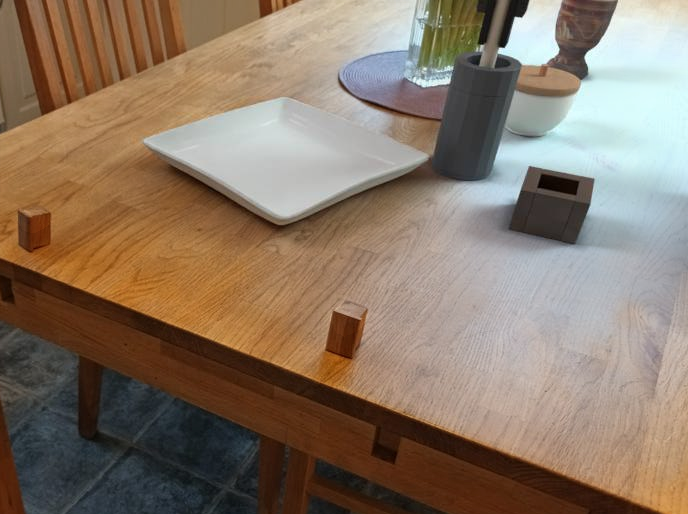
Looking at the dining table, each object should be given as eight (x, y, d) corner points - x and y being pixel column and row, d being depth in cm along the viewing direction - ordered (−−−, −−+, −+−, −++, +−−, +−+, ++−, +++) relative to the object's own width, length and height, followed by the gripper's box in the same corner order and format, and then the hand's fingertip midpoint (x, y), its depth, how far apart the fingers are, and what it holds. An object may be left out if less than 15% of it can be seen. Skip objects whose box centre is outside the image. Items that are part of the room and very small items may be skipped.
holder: (580, 216, 87) (595, 178, 84) (575, 244, 82) (590, 204, 79) (517, 203, 90) (529, 165, 86) (508, 229, 84) (520, 189, 81)
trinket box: (488, 137, 106) (506, 71, 100) (489, 112, 114) (505, 50, 108) (566, 147, 104) (589, 80, 98) (560, 120, 112) (581, 58, 106)
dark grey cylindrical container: (495, 163, 99) (525, 57, 90) (485, 185, 93) (516, 75, 85) (438, 151, 101) (462, 48, 93) (425, 172, 96) (450, 64, 87)
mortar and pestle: (546, 58, 136) (583, -62, 124) (595, 66, 133) (638, -57, 121) (537, 75, 128) (576, -51, 116) (589, 84, 125) (634, -45, 113)
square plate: (138, 164, 96) (137, 136, 94) (283, 118, 110) (285, 92, 108) (279, 245, 81) (282, 214, 78) (428, 179, 94) (435, 151, 92)
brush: (479, 147, 96) (529, -37, 82) (475, 155, 94) (525, -32, 80) (455, 142, 97) (500, -40, 83) (450, 151, 95) (496, -35, 81)
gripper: (474, -205, 72) (424, 42, 87) (635, -199, 67) (553, 61, 82) (487, -206, 77) (438, 27, 92) (637, -201, 73) (560, 44, 87)
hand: (492, 43), depth 87 cm, fingers closed on brush, 2 cm apart
